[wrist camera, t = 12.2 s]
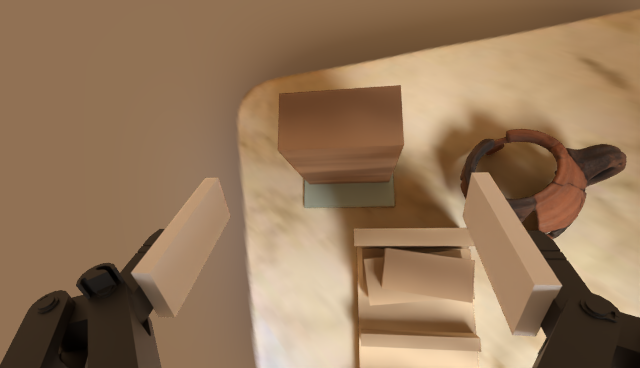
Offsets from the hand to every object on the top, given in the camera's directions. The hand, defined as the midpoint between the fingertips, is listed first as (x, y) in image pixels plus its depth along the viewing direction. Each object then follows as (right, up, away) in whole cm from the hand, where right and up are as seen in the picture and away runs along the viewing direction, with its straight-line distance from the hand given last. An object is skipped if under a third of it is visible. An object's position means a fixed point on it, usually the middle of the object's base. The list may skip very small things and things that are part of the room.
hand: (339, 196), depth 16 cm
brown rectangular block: (+2, +3, +15) cm, 15 cm away
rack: (+8, -12, +12) cm, 19 cm away
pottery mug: (+18, 0, +13) cm, 22 cm away
